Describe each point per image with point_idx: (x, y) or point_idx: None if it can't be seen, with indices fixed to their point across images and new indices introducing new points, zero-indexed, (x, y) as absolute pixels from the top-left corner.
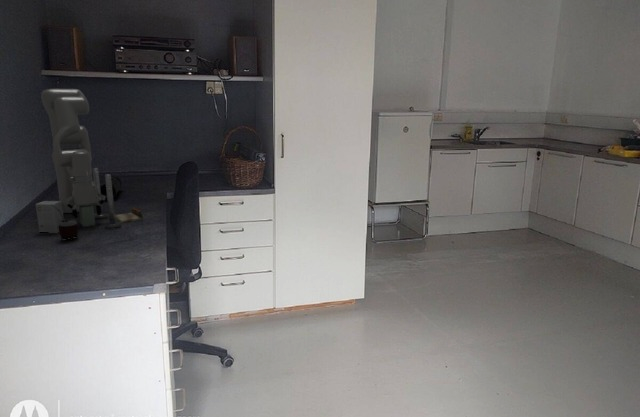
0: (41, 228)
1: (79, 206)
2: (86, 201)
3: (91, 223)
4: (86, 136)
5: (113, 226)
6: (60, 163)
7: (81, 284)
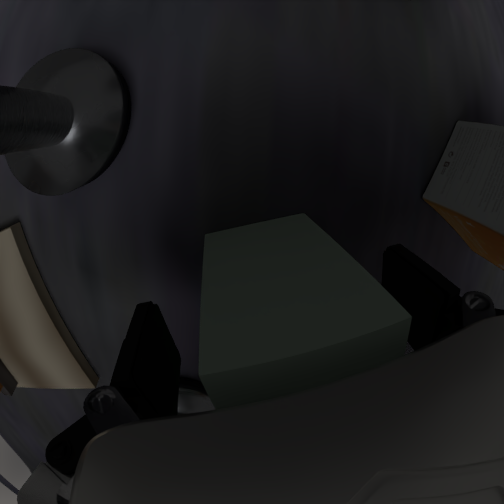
0: None
1: None
2: (386, 428)
3: (238, 234)
4: None
5: (60, 54)
6: None
7: None
